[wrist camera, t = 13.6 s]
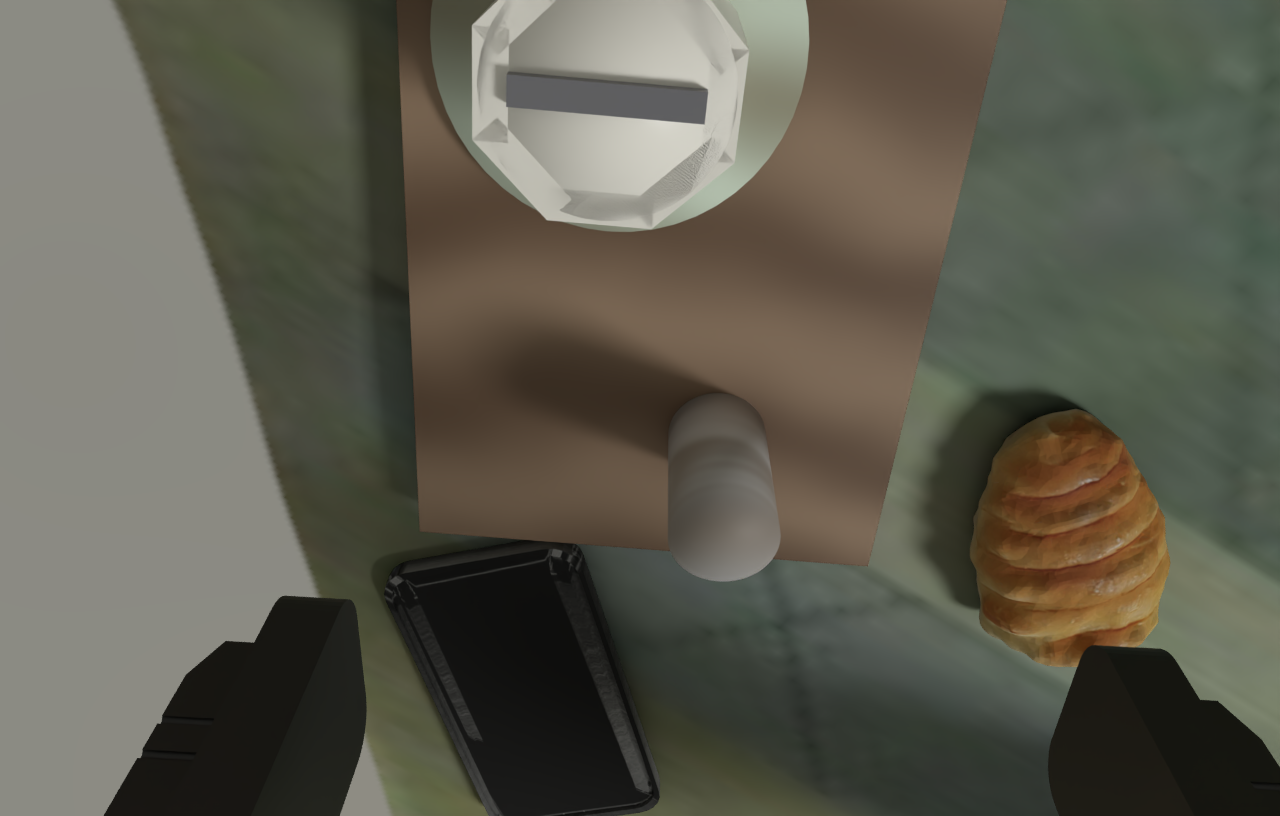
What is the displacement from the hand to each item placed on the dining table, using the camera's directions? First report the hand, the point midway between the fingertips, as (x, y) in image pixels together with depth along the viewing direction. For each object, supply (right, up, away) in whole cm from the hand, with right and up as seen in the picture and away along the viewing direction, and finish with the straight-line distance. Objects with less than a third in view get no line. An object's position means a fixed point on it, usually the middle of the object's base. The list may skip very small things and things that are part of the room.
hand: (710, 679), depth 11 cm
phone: (-5, -8, +31) cm, 33 cm away
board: (0, +9, +20) cm, 22 cm away
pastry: (+14, -1, +26) cm, 30 cm away
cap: (-1, +12, +15) cm, 20 cm away
